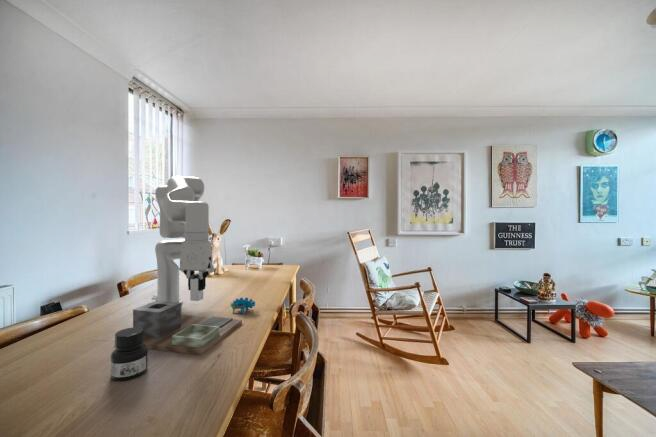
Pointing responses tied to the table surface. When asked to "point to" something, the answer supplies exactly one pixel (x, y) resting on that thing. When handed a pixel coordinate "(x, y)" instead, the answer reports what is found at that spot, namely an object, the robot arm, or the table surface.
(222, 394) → the table surface
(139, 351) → the ink bottle
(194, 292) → the grey capped block
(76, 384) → the table surface
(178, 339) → the workbench
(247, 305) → the blue lumpy piece
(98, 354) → the table surface
